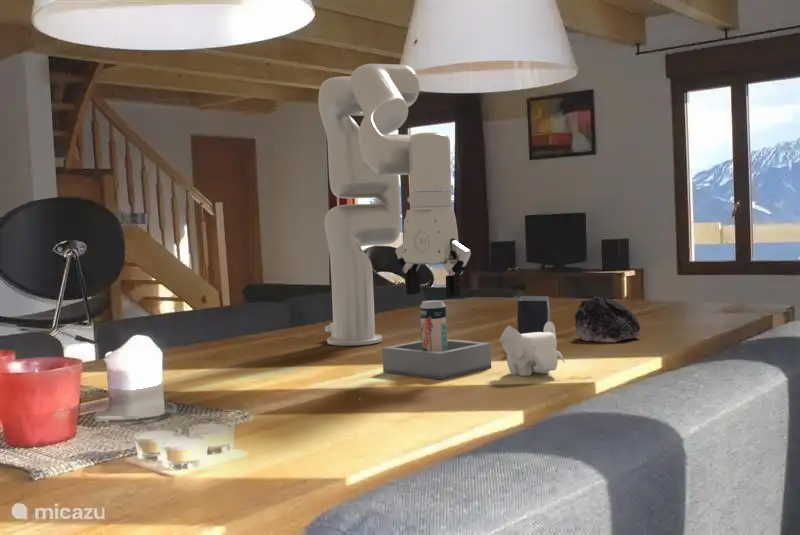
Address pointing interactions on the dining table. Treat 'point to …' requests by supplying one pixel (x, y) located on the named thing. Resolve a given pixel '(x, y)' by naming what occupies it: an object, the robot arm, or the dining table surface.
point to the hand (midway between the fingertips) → (432, 295)
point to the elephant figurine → (531, 350)
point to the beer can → (433, 326)
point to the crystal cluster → (605, 321)
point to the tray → (437, 359)
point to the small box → (532, 313)
